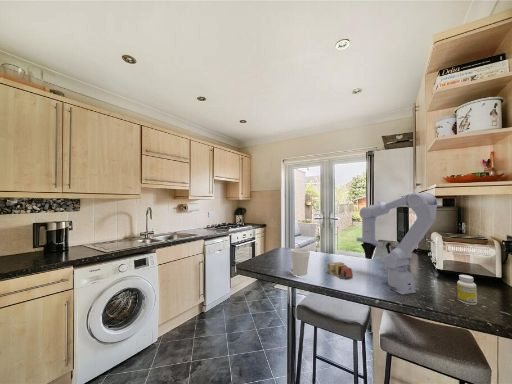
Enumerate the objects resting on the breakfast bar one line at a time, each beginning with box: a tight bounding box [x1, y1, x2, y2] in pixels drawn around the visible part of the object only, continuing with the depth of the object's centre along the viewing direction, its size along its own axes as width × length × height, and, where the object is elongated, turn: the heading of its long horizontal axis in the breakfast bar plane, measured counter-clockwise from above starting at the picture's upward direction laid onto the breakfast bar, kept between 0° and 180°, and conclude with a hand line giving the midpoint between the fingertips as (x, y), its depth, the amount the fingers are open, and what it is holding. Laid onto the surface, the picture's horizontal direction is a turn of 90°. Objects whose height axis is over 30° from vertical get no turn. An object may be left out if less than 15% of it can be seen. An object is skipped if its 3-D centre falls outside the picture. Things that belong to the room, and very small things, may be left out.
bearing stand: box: [327, 261, 353, 280], centre depth 109 cm, size 11×10×6 cm
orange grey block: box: [340, 265, 353, 277], centre depth 108 cm, size 10×3×4 cm, turn 17°
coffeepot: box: [385, 239, 412, 273], centre depth 117 cm, size 15×9×18 cm, turn 18°
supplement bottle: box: [456, 274, 478, 306], centre depth 85 cm, size 5×5×10 cm
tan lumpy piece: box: [334, 263, 347, 275], centre depth 109 cm, size 3×5×5 cm, turn 107°
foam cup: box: [290, 247, 310, 276], centre depth 112 cm, size 10×9×13 cm
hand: (368, 258), depth 110 cm, fingers closed
